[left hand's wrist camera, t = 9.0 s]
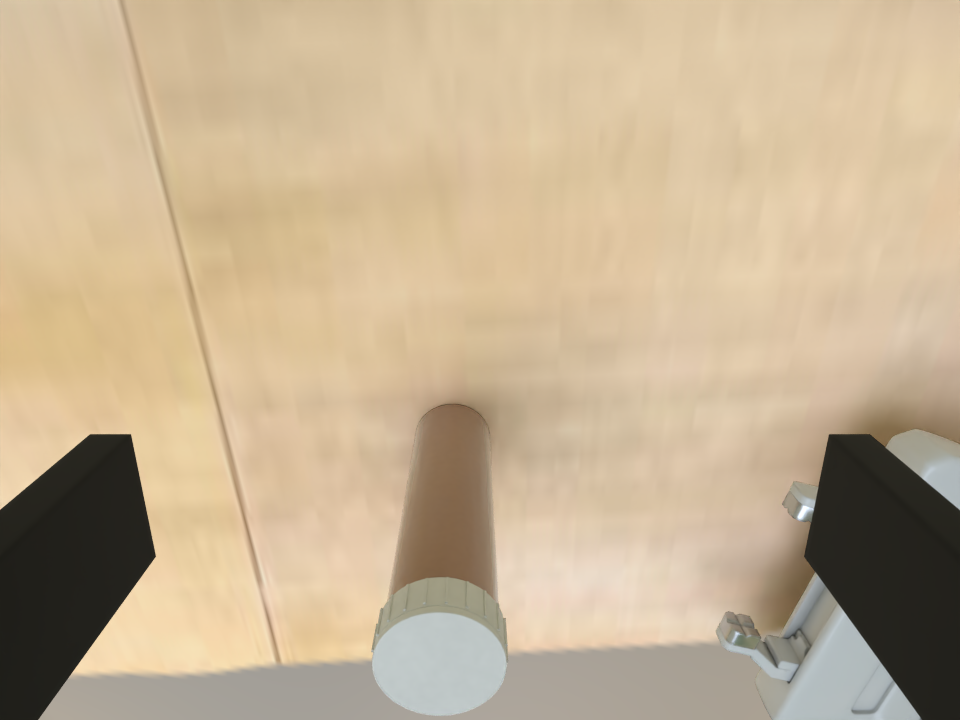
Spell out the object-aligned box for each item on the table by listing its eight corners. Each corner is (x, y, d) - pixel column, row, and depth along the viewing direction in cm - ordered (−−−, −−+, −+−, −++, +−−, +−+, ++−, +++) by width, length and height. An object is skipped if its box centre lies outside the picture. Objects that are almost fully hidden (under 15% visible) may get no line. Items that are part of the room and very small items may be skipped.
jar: (457, 389, 41) (448, 587, 24) (504, 442, 42) (525, 663, 26) (400, 432, 42) (353, 650, 25) (447, 482, 43) (432, 720, 27)
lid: (450, 552, 26) (448, 587, 24) (531, 634, 27) (536, 673, 25) (350, 620, 27) (341, 658, 25) (433, 695, 28) (431, 737, 26)
